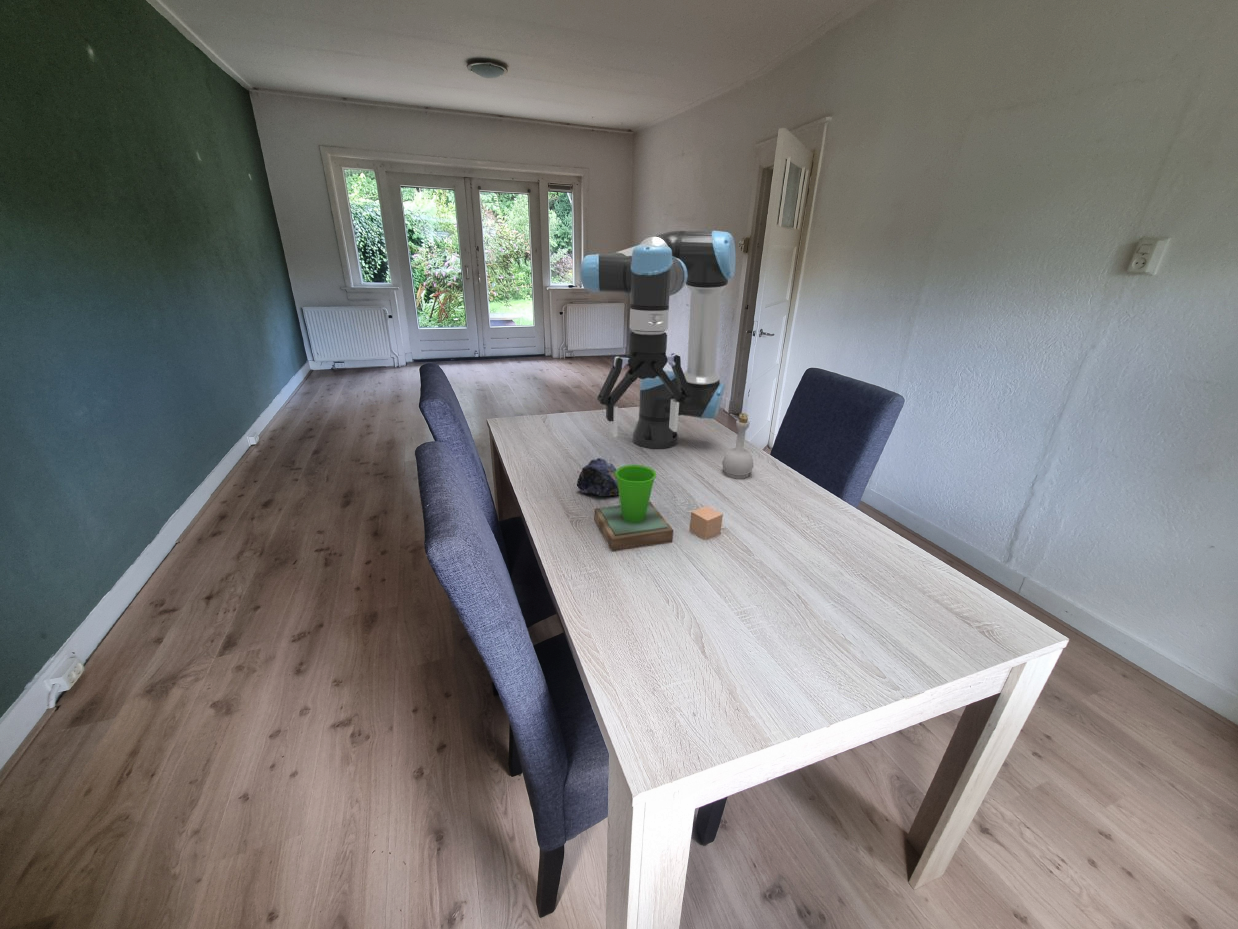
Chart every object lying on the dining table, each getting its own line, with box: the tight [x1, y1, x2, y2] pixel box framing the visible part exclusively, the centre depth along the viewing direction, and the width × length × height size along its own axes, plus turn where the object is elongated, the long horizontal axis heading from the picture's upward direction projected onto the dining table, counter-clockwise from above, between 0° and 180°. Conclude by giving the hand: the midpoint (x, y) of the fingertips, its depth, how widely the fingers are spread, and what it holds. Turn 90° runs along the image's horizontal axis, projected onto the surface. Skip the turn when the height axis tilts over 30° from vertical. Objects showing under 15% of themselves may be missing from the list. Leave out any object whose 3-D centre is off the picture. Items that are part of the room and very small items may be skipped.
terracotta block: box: [689, 505, 724, 541], centre depth 112 cm, size 5×5×5 cm
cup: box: [615, 464, 657, 523], centre depth 109 cm, size 9×9×11 cm
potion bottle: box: [721, 412, 755, 479], centre depth 140 cm, size 9×9×18 cm
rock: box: [576, 457, 619, 497], centre depth 129 cm, size 11×10×10 cm
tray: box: [593, 500, 674, 552], centre depth 112 cm, size 14×14×3 cm
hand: (643, 432), depth 106 cm, fingers open, 13 cm apart
